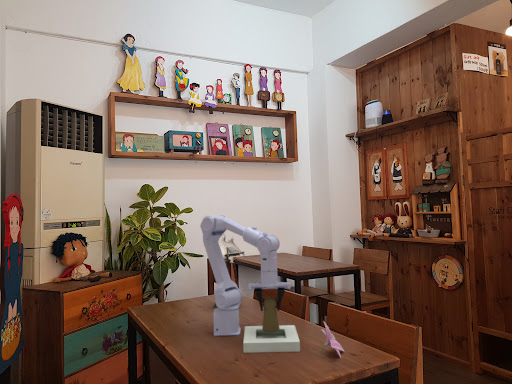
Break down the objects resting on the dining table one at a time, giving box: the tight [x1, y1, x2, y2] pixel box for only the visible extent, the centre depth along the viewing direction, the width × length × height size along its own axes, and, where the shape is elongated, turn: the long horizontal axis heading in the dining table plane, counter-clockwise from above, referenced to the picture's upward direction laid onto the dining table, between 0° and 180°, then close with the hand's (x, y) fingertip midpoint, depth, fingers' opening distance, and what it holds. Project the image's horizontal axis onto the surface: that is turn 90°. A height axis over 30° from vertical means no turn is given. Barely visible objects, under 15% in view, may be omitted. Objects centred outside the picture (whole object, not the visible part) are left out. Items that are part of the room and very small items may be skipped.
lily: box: [318, 320, 345, 359], centre depth 119 cm, size 11×11×9 cm
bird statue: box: [212, 233, 245, 310], centre depth 179 cm, size 17×13×35 cm
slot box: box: [242, 324, 301, 354], centre depth 131 cm, size 18×18×3 cm
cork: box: [262, 296, 280, 332], centre depth 134 cm, size 6×6×11 cm
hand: (270, 310), depth 133 cm, fingers closed on cork, 5 cm apart
